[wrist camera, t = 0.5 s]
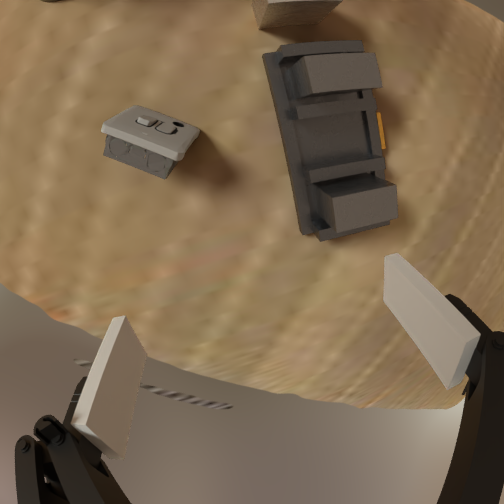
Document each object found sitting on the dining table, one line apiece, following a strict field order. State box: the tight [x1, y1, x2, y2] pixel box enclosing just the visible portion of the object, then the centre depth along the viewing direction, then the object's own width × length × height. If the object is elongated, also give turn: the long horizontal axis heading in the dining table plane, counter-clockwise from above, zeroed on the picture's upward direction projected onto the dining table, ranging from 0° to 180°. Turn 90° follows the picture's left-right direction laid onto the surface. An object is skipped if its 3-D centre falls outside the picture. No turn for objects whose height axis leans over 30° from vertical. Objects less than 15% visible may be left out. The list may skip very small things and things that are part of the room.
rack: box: [262, 40, 398, 242], centre depth 31 cm, size 24×14×9 cm, turn 13°
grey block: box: [252, 0, 343, 29], centre depth 23 cm, size 4×8×9 cm, turn 103°
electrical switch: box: [101, 105, 200, 179], centre depth 29 cm, size 9×5×9 cm, turn 64°
